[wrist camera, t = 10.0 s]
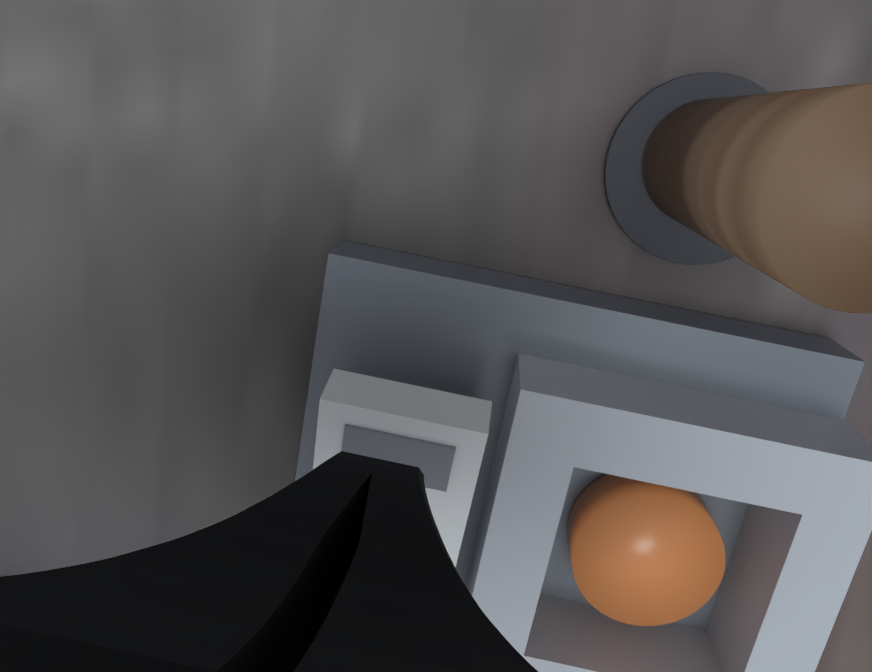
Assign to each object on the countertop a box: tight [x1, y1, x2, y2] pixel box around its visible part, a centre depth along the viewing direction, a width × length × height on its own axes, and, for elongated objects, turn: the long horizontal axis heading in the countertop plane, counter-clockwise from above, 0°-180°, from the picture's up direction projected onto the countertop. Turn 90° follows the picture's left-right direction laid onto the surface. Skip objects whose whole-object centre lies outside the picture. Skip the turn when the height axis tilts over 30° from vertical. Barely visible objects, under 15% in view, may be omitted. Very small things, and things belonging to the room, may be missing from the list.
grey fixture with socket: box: [295, 241, 872, 672], centre depth 19 cm, size 13×11×5 cm
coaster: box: [604, 73, 768, 264], centre depth 19 cm, size 5×5×1 cm
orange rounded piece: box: [567, 474, 726, 626], centre depth 19 cm, size 4×4×1 cm
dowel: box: [642, 83, 872, 313], centre depth 14 cm, size 3×3×9 cm
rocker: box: [313, 369, 492, 567], centre depth 18 cm, size 4×7×1 cm, turn 169°
